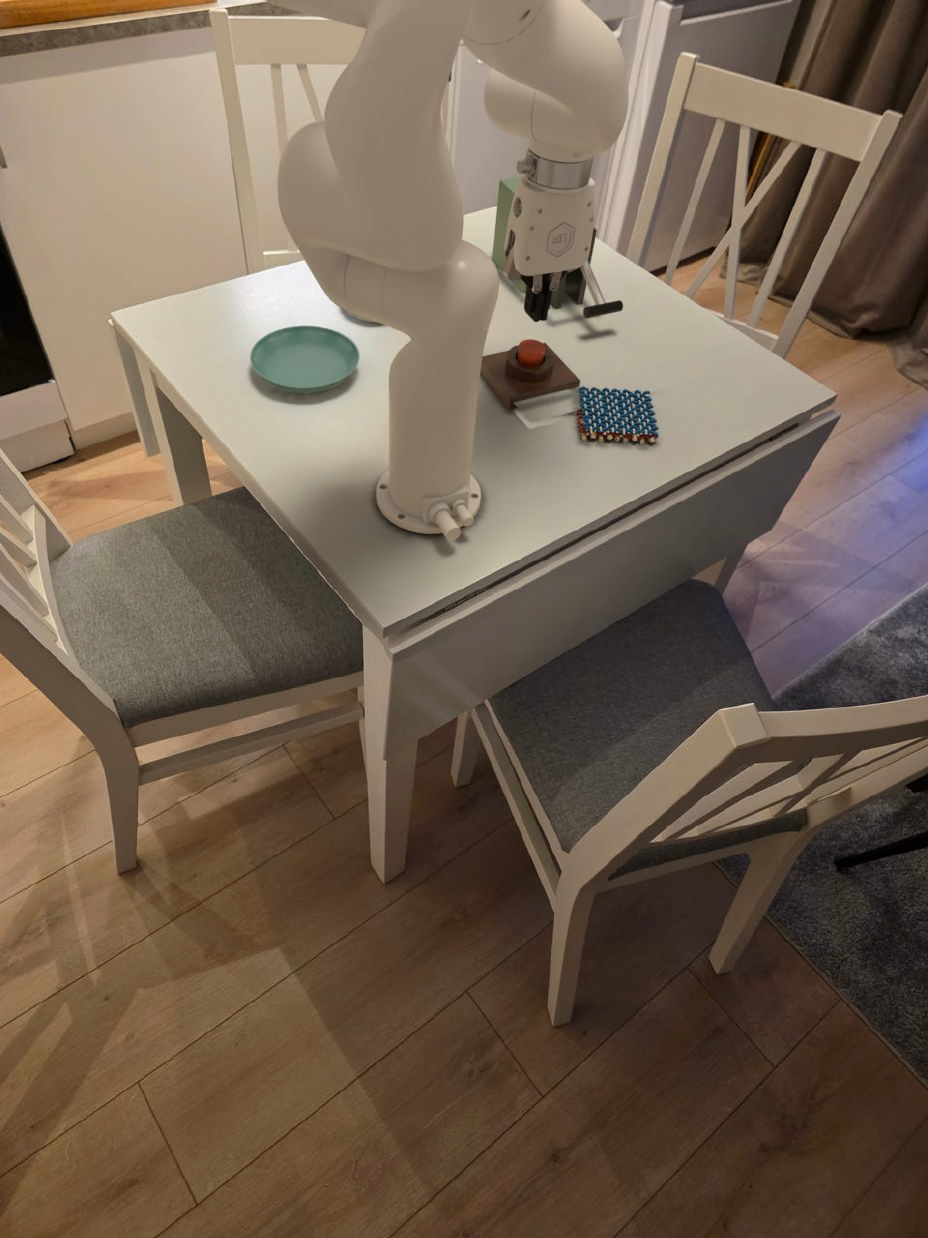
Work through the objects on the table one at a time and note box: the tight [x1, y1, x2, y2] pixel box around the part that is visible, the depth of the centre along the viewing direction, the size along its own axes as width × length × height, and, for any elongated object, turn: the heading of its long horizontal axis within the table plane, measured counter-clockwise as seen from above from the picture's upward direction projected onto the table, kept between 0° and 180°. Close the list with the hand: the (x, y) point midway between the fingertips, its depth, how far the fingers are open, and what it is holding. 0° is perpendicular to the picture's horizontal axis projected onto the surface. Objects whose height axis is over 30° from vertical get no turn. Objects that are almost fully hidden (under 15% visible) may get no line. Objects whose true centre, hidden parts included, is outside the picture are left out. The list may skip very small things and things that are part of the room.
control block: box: [480, 342, 581, 411], centre depth 114 cm, size 10×11×4 cm
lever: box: [580, 260, 624, 319], centre depth 120 cm, size 14×6×2 cm, turn 27°
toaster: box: [491, 176, 527, 294], centre depth 129 cm, size 11×10×14 cm
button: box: [517, 338, 545, 366], centre depth 112 cm, size 4×4×2 cm
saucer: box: [249, 325, 361, 395], centre depth 113 cm, size 15×15×3 cm
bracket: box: [550, 226, 598, 310], centre depth 125 cm, size 8×8×13 cm
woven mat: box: [576, 385, 659, 446], centre depth 111 cm, size 10×11×2 cm
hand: (535, 315), depth 108 cm, fingers closed
